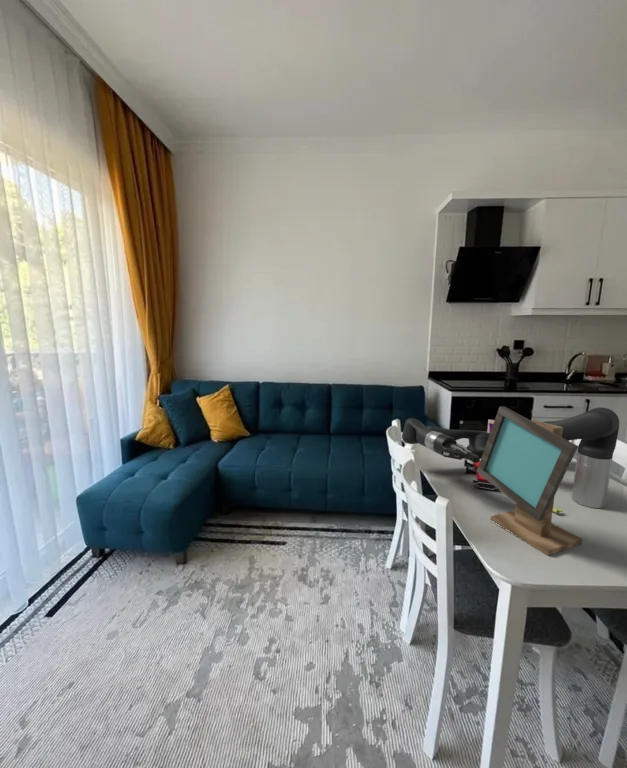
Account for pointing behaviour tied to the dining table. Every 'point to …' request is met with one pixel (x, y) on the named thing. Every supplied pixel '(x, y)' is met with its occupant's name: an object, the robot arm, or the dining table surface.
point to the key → (557, 510)
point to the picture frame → (525, 461)
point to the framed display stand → (538, 522)
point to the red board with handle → (479, 477)
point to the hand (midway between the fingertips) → (477, 459)
